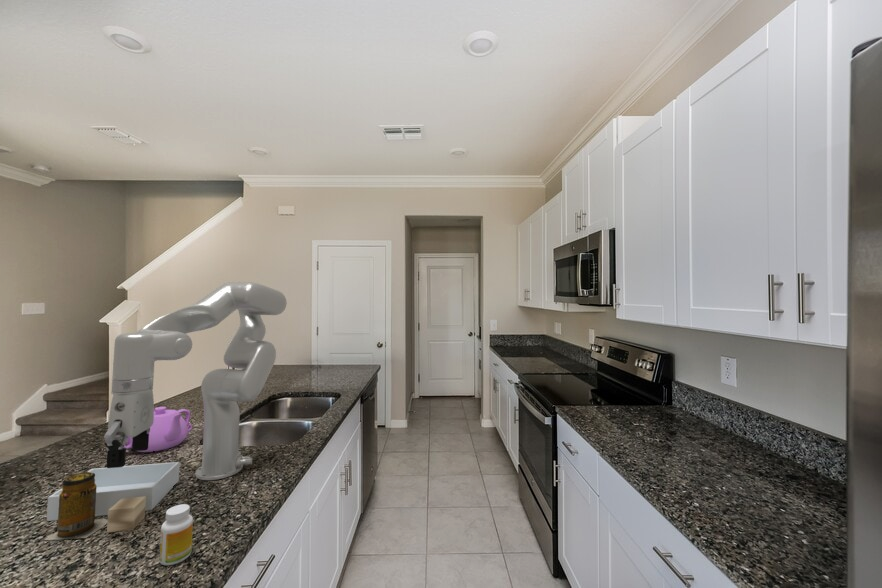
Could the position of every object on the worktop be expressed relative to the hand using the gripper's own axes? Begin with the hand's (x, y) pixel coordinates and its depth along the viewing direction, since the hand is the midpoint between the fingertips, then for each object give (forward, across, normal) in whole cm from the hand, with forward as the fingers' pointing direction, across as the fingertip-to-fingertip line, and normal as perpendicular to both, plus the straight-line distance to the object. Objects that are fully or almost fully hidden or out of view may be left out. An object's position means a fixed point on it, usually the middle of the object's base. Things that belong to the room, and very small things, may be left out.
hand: (128, 458), depth 85 cm
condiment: (+16, 0, +9) cm, 18 cm away
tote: (+15, +13, +8) cm, 22 cm away
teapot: (+15, +50, +14) cm, 54 cm away
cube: (+16, 0, 0) cm, 16 cm away
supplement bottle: (+16, -15, -16) cm, 27 cm away
